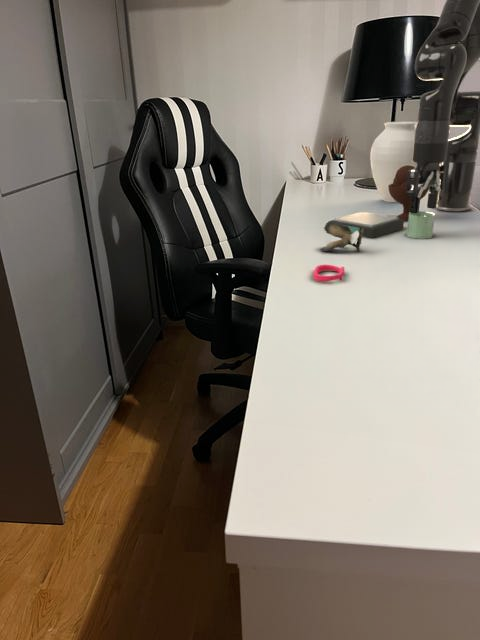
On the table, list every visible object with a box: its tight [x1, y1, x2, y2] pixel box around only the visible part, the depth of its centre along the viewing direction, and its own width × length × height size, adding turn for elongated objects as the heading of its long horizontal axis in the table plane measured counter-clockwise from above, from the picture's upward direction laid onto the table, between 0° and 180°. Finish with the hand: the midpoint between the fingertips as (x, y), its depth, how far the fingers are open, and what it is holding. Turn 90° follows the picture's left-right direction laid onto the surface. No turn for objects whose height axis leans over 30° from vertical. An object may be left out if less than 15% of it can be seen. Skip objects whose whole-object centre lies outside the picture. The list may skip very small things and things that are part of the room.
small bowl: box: [406, 211, 436, 240], centre depth 125 cm, size 6×6×6 cm
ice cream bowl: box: [388, 165, 429, 222], centre depth 141 cm, size 11×11×15 cm
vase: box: [369, 121, 417, 203], centre depth 167 cm, size 18×18×25 cm
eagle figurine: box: [319, 219, 364, 253], centre depth 114 cm, size 8×7×9 cm
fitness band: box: [312, 264, 345, 283], centre depth 98 cm, size 8×6×2 cm
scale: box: [330, 211, 405, 239], centre depth 133 cm, size 14×14×3 cm
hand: (422, 210), depth 123 cm, fingers open, 8 cm apart
